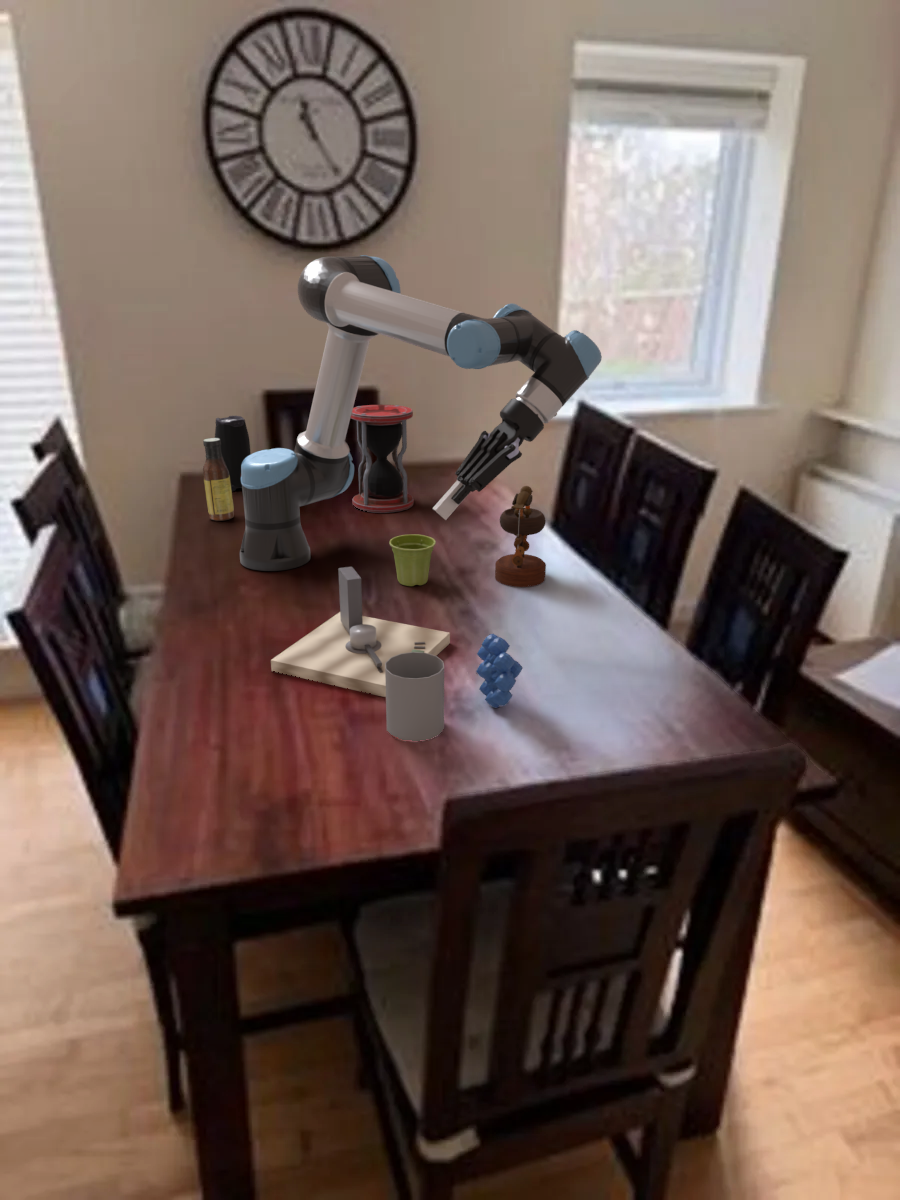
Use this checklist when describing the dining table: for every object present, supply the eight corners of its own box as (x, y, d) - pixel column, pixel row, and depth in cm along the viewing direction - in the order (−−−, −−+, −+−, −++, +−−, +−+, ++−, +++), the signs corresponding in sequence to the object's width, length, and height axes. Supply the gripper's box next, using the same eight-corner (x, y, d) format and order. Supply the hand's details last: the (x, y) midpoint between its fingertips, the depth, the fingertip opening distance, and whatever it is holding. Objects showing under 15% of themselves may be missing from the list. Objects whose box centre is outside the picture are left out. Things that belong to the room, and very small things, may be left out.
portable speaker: (254, 490, 245) (248, 420, 237) (219, 493, 242) (212, 421, 235) (252, 482, 252) (246, 414, 245) (218, 485, 250) (211, 415, 242)
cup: (386, 713, 131) (384, 652, 127) (441, 711, 132) (441, 651, 128) (387, 743, 123) (385, 680, 120) (445, 741, 124) (446, 678, 120)
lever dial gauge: (392, 665, 140) (391, 607, 136) (366, 669, 139) (364, 611, 135) (359, 618, 158) (357, 565, 154) (335, 621, 156) (332, 568, 152)
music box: (551, 590, 177) (547, 494, 170) (496, 594, 178) (490, 498, 170) (544, 563, 191) (540, 474, 184) (493, 567, 192) (488, 478, 184)
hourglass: (425, 502, 235) (425, 408, 226) (389, 517, 223) (387, 418, 213) (377, 493, 243) (374, 401, 234) (339, 507, 231) (335, 411, 221)
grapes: (535, 721, 129) (538, 647, 125) (491, 727, 127) (493, 653, 123) (508, 685, 140) (511, 616, 135) (468, 690, 138) (469, 620, 133)
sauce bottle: (239, 516, 223) (232, 437, 215) (225, 522, 217) (218, 443, 210) (216, 513, 225) (209, 435, 217) (202, 520, 219) (194, 440, 212)
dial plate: (271, 671, 144) (270, 658, 143) (340, 621, 162) (340, 610, 161) (391, 698, 135) (391, 685, 134) (449, 643, 154) (449, 631, 153)
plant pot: (443, 577, 183) (443, 538, 180) (423, 592, 176) (422, 551, 172) (403, 570, 187) (402, 531, 184) (381, 585, 179) (380, 545, 176)
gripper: (560, 432, 148) (467, 538, 149) (526, 418, 159) (440, 517, 160) (533, 402, 144) (437, 511, 145) (500, 390, 155) (412, 491, 156)
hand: (439, 514), depth 152 cm, fingers closed
